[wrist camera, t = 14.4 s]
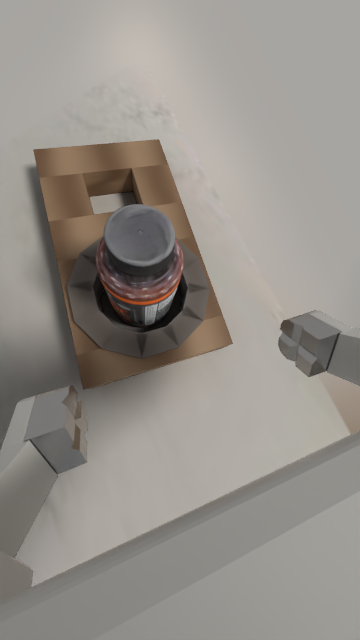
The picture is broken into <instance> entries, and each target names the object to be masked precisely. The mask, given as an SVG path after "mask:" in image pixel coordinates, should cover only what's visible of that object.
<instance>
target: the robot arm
mask: <svg viewBox="0 0 360 640" xmlns="http://www.w3.org/2000/svg"><path fill="white" fill-rule="evenodd" d="M280 329H281V331H282V332H283V333H282V334H281V336H280V337H279V341H278V346H279V349H280V351H281V353H282V354H283V355H284V356H285V357H286V358H287V359H289V360H292V361H295V365H296V367H297V368H298V369H300V370H301V371H302V372H303V373H304V374H306V375H307V376H308V377H311V376H314V375H317V374H319V373H322V372H325V371H327V372H328V373H331V374H333V375H335V376H338V377H340V378H342V379H345V380H347V381H350V382H352V383H354V384H356V385H359V386H360V328H354V329H353V328H351V327H350V326H348V325H346V324H344V323H342V322H340V321H338V320H336V319H334V318H332V317H330V316H329V315H327V314H325V313H323V312H321V311H317V310H314V311H311V312H308V313H305V314H303V315H299V316H296V317H293V318H290V319H287V320H284V321H283V322H282V324H281V328H280ZM87 430H88V421H87V415H86V411H85V408H84V405H83V403H82V402H81V401H78V400H77V392H76V390H75V388H74V386H71V385H70V386H67V387H63V388H60V389H56V390H53V391H49V392H45V393H42V394H38V395H36V396H32V397H29V398H25V399H22V400H20V401H19V402H18V403H17V405H16V407H15V410H14V413H13V416H12V419H11V422H10V424H9V427H8V430H7V433H6V436H5V439H4V441H3V444H2V447H1V450H0V640H360V431H358V432H356V433H353V434H351V435H349V436H347V437H345V438H343V439H341V440H339V441H337V442H335V443H332V444H330V445H328V446H326V447H324V448H322V449H320V450H318V451H316V452H314V453H312V454H309V455H307V456H305V457H303V458H301V459H299V460H297V461H295V462H293V463H291V464H288V465H286V466H284V467H282V468H280V469H278V470H276V471H274V472H272V473H270V474H268V475H265V476H263V477H261V478H259V479H257V480H255V481H253V482H251V483H249V484H247V485H244V486H242V487H240V488H238V489H236V490H234V491H232V492H230V493H228V494H226V495H224V496H221V497H219V498H217V499H215V500H213V501H211V502H209V503H207V504H205V505H203V506H201V507H198V508H196V509H194V510H192V511H190V512H188V513H186V514H184V515H182V516H180V517H178V518H175V519H173V520H171V521H169V522H167V523H165V524H163V525H161V526H159V527H157V528H155V529H152V530H150V531H148V532H146V533H144V534H142V535H140V536H138V537H136V538H134V539H132V540H129V541H127V542H125V543H123V544H121V545H119V546H117V547H115V548H113V549H111V550H108V551H106V552H104V553H102V554H100V555H98V556H96V557H94V558H92V559H90V560H88V561H85V562H83V563H81V564H79V565H77V566H75V567H73V568H71V569H69V570H67V571H65V572H62V573H60V574H58V575H56V576H54V577H52V578H50V579H48V580H46V581H44V582H42V583H39V584H37V585H35V586H33V587H31V584H32V577H33V570H32V569H31V568H30V567H29V566H27V565H25V564H24V563H22V562H20V561H18V560H16V559H15V556H16V554H17V552H18V550H19V548H20V547H21V545H22V543H23V541H24V539H25V537H26V535H27V533H28V532H29V530H30V528H31V526H32V524H33V522H34V520H35V518H36V517H37V515H38V513H39V511H40V509H41V507H42V505H43V503H44V502H45V500H46V498H47V496H48V494H49V492H50V490H51V488H52V487H53V485H54V483H55V481H56V479H57V477H58V475H57V474H60V473H62V472H65V471H67V470H69V469H72V468H74V467H77V466H79V465H82V464H84V463H86V462H87V440H86V439H85V437H84V434H85V433H86V431H87Z"/></svg>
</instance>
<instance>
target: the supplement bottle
mask: <svg viewBox="0 0 360 640" xmlns="http://www.w3.org/2000/svg"><path fill="white" fill-rule="evenodd" d="M96 266H97V271H98V274H99V276H100V279H101V282H102V284H103V286H104V288H105V291H106V293H107V295H108V297H109V300H110V302H111V305H112V307H113V309H114V311H115V313H116V314H117V315H118V316H119V318H121V319H122V320H123V321H124V322H126V323H128V324H130V325H132V326H136V327H147V326H152V325H154V324H156V323H158V322H160V321H161V320H162V319H163V318H164V317H165V316H166V314H167V313H168V311H169V309H170V306H171V304H172V301H173V298H174V295H175V293H176V290H177V287H178V284H179V281H180V278H181V275H182V272H183V266H184V259H183V253H182V250H181V247H180V245H179V243H178V241H177V240H176V238H175V230H174V227H173V225H172V223H171V221H170V220H169V218H168V217H167V216H166V215H165V214H163V213H162V212H161V211H160V210H158V209H156V208H154V207H151V206H148V205H142V204H132V205H127V206H124V207H122V208H120V209H118V210H116V211H115V212H114V213H113V214H111V216H110V217H109V218H108V220H107V222H106V224H105V227H104V236H103V238H102V239H101V241H100V243H99V245H98V248H97V252H96Z"/></svg>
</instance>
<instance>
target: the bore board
mask: <svg viewBox="0 0 360 640" xmlns="http://www.w3.org/2000/svg"><path fill="white" fill-rule="evenodd" d="M34 155H35V160H36V164H37V169H38V174H39V179H40V184H41V188H42V193H43V198H44V203H45V208H46V212H47V217H48V222H49V227H50V232H51V236H52V241H53V246H54V251H55V255H56V260H57V265H58V270H59V275H60V279H61V284H62V289H63V294H64V299H65V303H66V308H67V313H68V318H69V323H70V327H71V332H72V337H73V342H74V347H75V351H76V356H77V361H78V366H79V371H80V375H81V380H82V385H83V389H90V388H95V387H98V386H101V385H104V384H108V383H111V382H114V381H117V380H120V379H124V378H127V377H130V376H133V375H137V374H140V373H143V372H146V371H150V370H153V369H156V368H159V367H163V366H166V365H169V364H172V363H176V362H179V361H182V360H185V359H188V358H192V357H195V356H198V355H201V354H205V353H208V352H211V351H214V350H218V349H221V348H223V347H226V346H228V345H230V344H233V343H232V340H231V337H230V334H229V331H228V329H227V326H226V323H225V320H224V318H223V315H222V312H221V309H220V307H219V304H218V301H217V298H216V296H215V293H214V290H213V287H212V285H211V282H210V279H209V276H208V273H207V271H206V268H205V265H204V262H203V260H202V257H201V254H200V251H199V249H198V246H197V243H196V240H195V238H194V235H193V232H192V229H191V226H190V224H189V221H188V218H187V215H186V213H185V210H184V207H183V204H182V202H181V199H180V196H179V193H178V191H177V188H176V185H175V182H174V179H173V177H172V174H171V171H170V168H169V166H168V163H167V160H166V157H165V155H164V152H163V149H162V146H161V144H160V141H159V140H146V141H134V142H122V143H109V144H97V145H85V146H72V147H60V148H48V149H35V150H34ZM129 191H133V193H134V196H135V199H136V202H137V204H142V205H148V206H151V207H154V208H156V209H158V210H160V211H161V212H162V213H163V214H165V215H166V216H167V217H168V218H169V220H170V221H171V223H172V225H173V227H174V230H175V238H176V240H177V241H178V243H179V245H180V247H181V250H182V253H183V259H184V266H183V272H182V275H181V278H180V281H179V284H178V287H177V288H178V291H179V294H180V297H181V300H182V303H181V307H180V311H179V314H178V315H177V316H176V317H175V318H174V319H173V320H172V321H171V322H170V323H169V324H168V325H167V326H166V327H163V328H159V329H155V330H152V331H148V332H144V333H139V332H135V331H131V330H127V329H123V328H119V327H116V326H115V325H114V324H113V323H112V322H111V321H110V320H109V319H108V318H107V317H106V316H105V315H104V313H103V309H102V305H101V301H100V300H101V297H102V294H103V291H104V286H103V284H102V282H101V279H100V276H99V274H98V271H97V266H96V252H97V248H98V245H99V243H100V241H101V239H102V238H103V236H104V227H105V224H106V222H107V220H108V218H109V217H110V216H111V214H113V213H114V212H109V213H102V214H96V215H94V213H93V209H92V205H91V201H90V196H98V195H106V194H113V193H121V192H129Z"/></svg>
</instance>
